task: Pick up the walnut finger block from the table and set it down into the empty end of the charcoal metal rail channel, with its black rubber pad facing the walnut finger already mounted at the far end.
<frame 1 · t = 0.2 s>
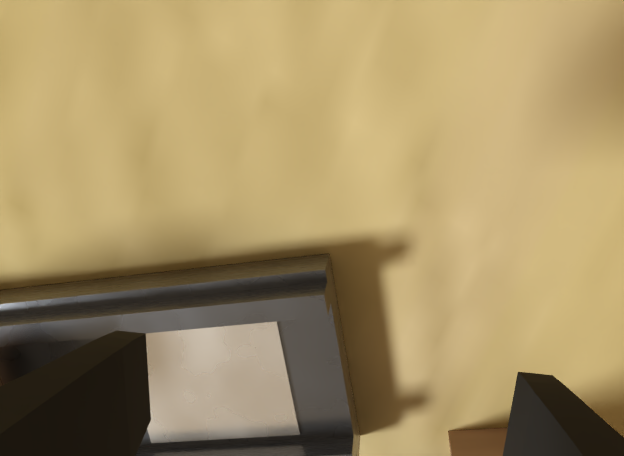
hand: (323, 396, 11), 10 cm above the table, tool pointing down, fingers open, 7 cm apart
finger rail: (106, 369, 24), on the table
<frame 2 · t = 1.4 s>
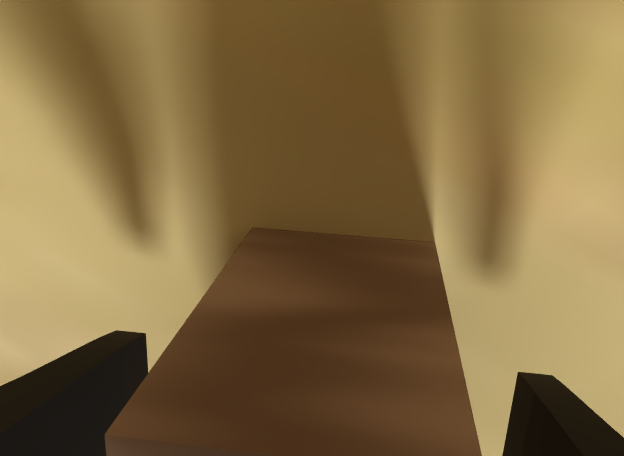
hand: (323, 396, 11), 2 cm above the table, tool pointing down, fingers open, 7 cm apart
walnut finger: (335, 335, 13), on the table
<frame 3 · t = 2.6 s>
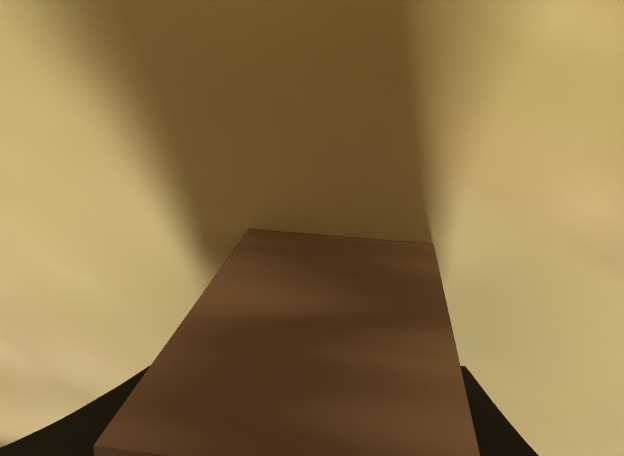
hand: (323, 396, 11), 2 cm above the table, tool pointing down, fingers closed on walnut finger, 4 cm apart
walnut finger: (333, 339, 13), on the table, touching gripper
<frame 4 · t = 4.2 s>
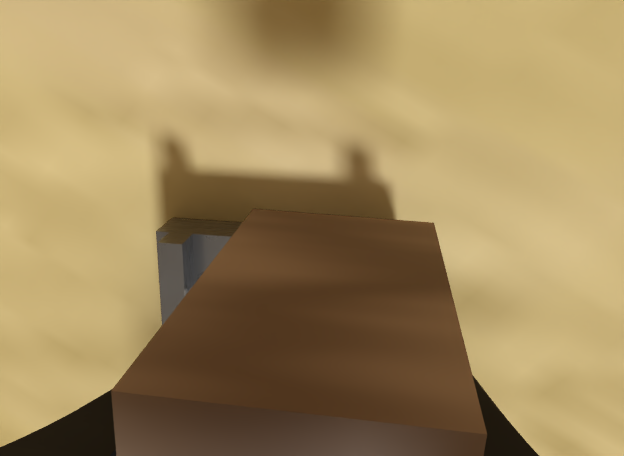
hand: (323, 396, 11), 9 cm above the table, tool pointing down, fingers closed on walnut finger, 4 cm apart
walnut finger: (335, 316, 13), point 7 cm above the table, touching gripper
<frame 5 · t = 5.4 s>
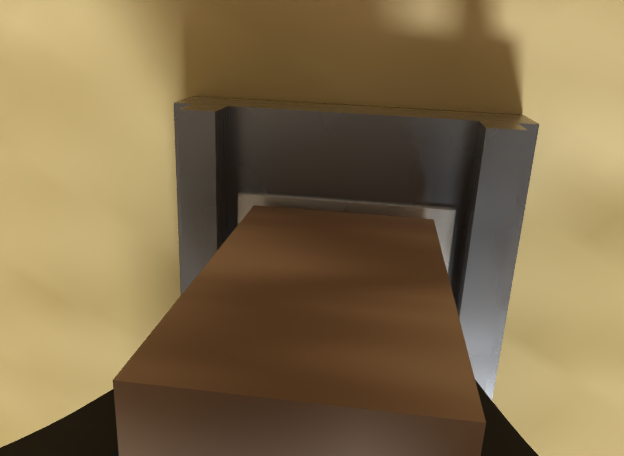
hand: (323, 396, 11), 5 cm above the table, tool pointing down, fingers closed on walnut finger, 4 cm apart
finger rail: (332, 442, 17), on the table
walnut finger: (335, 313, 13), point 2 cm above the table, touching gripper
when the fingers open (5 cm above the table, at t = 6.2 s): walnut finger stays where it is, resting on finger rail.
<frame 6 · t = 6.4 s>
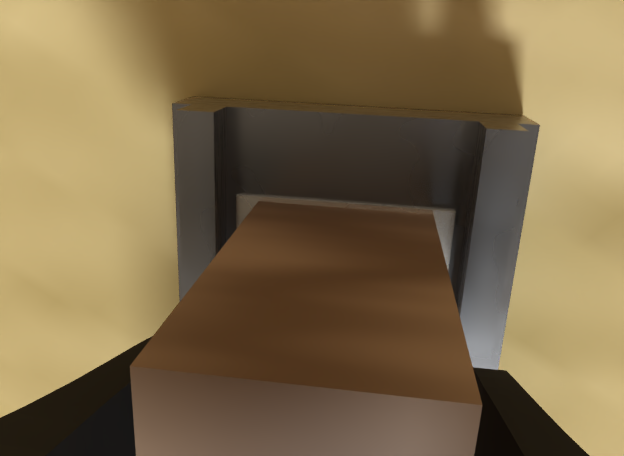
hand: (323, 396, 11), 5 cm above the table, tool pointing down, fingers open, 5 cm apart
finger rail: (331, 444, 17), on the table
walnut finger: (338, 306, 14), point 2 cm above the table, touching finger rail
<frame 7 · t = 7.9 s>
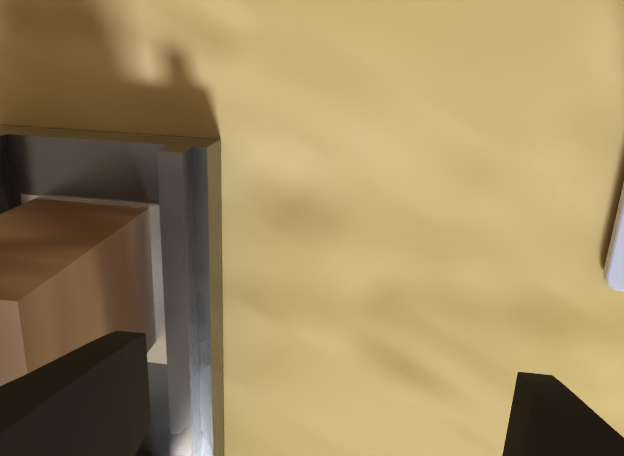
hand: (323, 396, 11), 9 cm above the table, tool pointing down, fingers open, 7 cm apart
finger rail: (127, 379, 23), on the table
walnut finger: (97, 272, 20), point 2 cm above the table, touching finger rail
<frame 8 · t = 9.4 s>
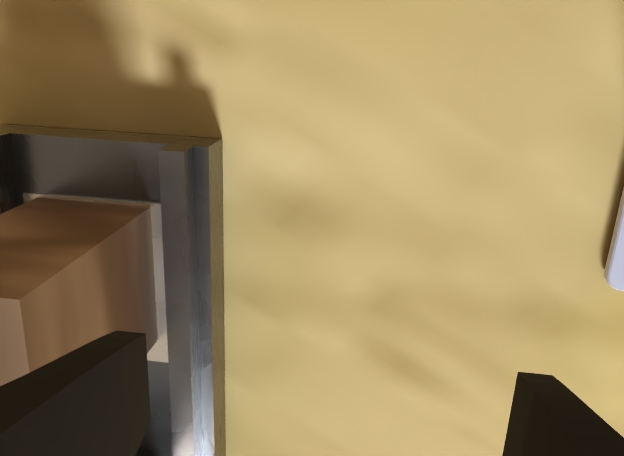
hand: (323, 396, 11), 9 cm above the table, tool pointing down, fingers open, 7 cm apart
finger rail: (128, 377, 23), on the table
walnut finger: (99, 270, 20), point 2 cm above the table, touching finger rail
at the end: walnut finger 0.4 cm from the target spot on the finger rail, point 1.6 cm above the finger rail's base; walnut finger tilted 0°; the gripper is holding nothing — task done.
